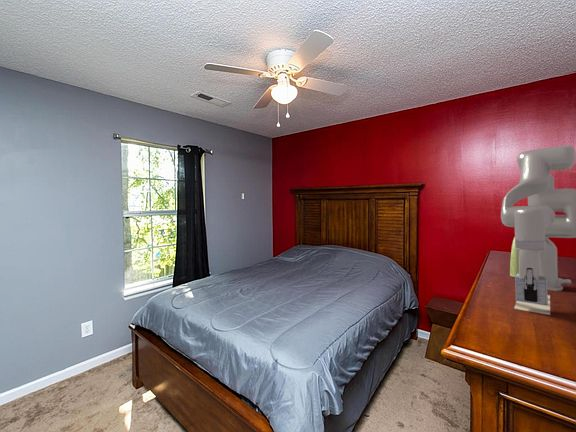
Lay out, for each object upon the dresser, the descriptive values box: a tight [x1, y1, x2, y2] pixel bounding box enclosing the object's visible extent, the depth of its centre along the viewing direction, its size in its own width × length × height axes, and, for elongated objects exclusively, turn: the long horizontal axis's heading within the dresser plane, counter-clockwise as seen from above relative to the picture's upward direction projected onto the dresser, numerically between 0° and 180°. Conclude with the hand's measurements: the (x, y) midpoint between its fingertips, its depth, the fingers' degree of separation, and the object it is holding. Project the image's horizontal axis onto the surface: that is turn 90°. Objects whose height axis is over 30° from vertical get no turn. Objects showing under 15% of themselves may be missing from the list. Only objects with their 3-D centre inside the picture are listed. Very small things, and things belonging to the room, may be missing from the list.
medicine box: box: [514, 274, 549, 305], centre depth 91 cm, size 8×4×9 cm, turn 46°
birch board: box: [513, 294, 551, 316], centre depth 100 cm, size 24×9×2 cm, turn 136°
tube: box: [509, 236, 519, 278], centre depth 137 cm, size 6×5×20 cm
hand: (531, 298), depth 92 cm, fingers closed on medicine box, 4 cm apart
